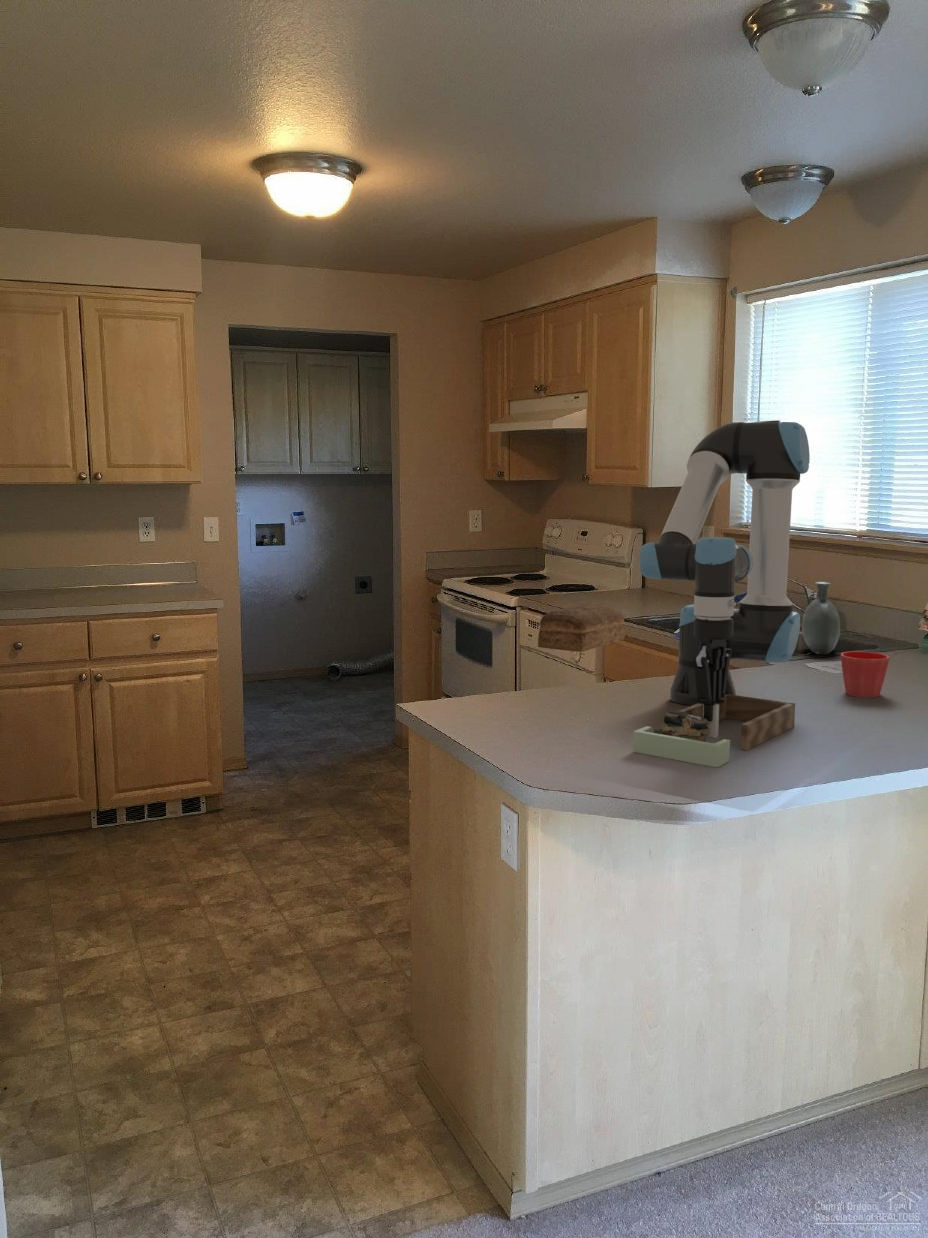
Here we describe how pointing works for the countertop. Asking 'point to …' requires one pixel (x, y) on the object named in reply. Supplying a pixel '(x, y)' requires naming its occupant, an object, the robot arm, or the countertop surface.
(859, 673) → the flower pot
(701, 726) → the rock
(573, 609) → the bread
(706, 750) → the bracket
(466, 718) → the countertop surface
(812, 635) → the flask
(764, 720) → the cubby
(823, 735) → the countertop surface
